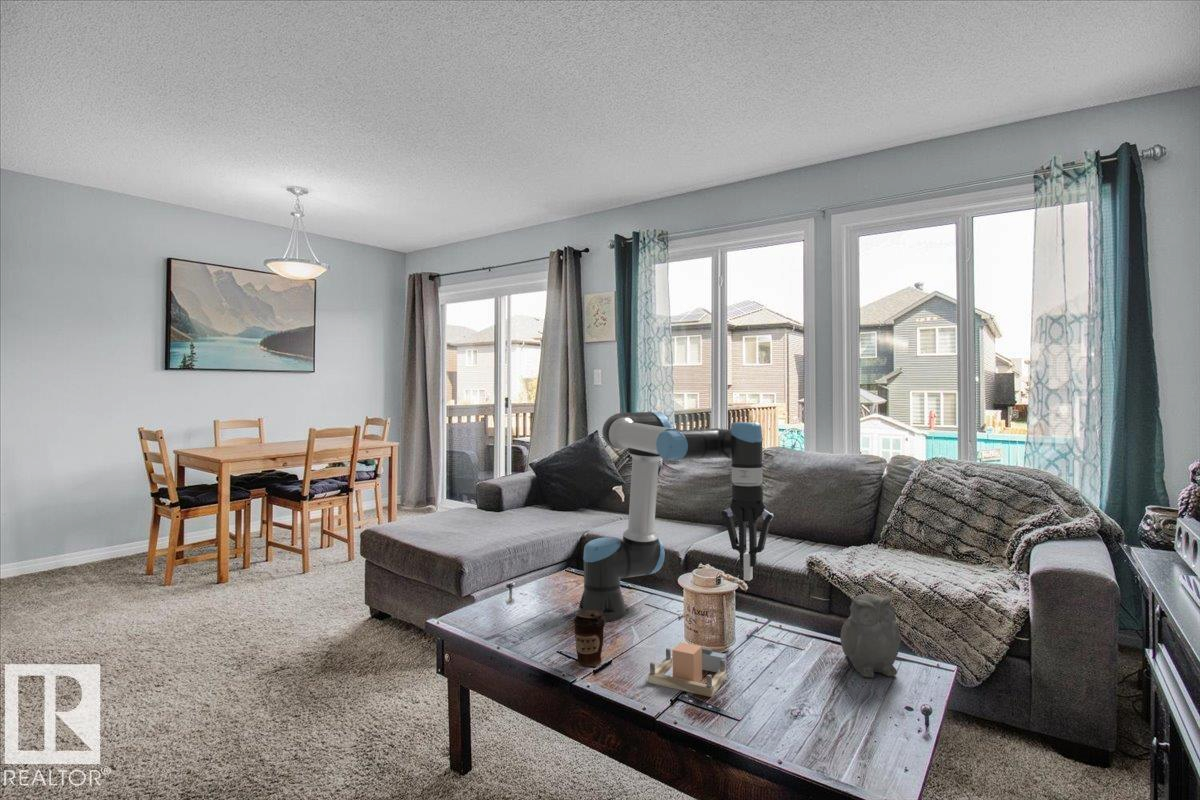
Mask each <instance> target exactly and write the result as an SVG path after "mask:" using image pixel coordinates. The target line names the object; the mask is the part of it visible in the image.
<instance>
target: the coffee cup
mask: <svg viewBox="0 0 1200 800" xmlns="http://www.w3.org/2000/svg"><path fill="white" fill-rule="evenodd" d="M605 620H606V618H605V617H604V616H603V612H601V611H597V610H585V611H582V612H579V611H577V612H576V616H575V617H574V619H573V625H574V638H575V650H576V655H577V663H578V665H579V666H583V667H597V666H600V665H602V663H603V661H602V651H603V646H604V633H605V632H604V631H605V625H606V621H605Z"/></svg>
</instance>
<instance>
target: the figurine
mask: <svg viewBox="0 0 1200 800" xmlns="http://www.w3.org/2000/svg"><path fill="white" fill-rule="evenodd" d="M850 600H851V604H850V606H849V610H850V614H849V616H848V617H847V619H846V620H845V621H844V622H843V625H842V626H841V629H840V630H841V631H840V635H839V636H840V645H841V648H842V651H843V653H844V655H845V656H846V657H848V658H849V660H850V663H851V664H852V666H853V667H854V670H855V671H856V672H858V673H859V674H860V675H861V677H864V678H874V676H875V673H880V674H883V675H884V676H887V677H895V676H896V675H897V673H898V670H897V668H896V667H894V663H895V662H896V660H897V657H898V654H899V648H900V646H901V642H902V640H901V635H900V634H901V633H900V627H899V625H898V623H897V622H896V621H895V618H896V609H895V608H894V606H893V605H892V604H891V601H892V600H893V595H892V593H891V592H888V593H887V594H886V595H885V596H884V597H883V596H881V595H878V594H872V593H861V594H859V595H857V596H855V597H853V596H850Z"/></svg>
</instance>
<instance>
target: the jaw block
mask: <svg viewBox="0 0 1200 800" xmlns="http://www.w3.org/2000/svg"><path fill="white" fill-rule="evenodd" d="M702 647H703V646H702V645H696V644H692V643H691V644H690V643H687V642H682V641H681V642H680V643H679V644H677V646H675V647H674V648H673V649H672V655H671V656H672V657H671V658H672V677H676V678H680V679H685V680H689V681H694V682H698V683H701V681H702V680H703V670H702Z"/></svg>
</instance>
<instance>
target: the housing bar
mask: <svg viewBox="0 0 1200 800" xmlns="http://www.w3.org/2000/svg"><path fill="white" fill-rule="evenodd" d="M720 659H724V660H725V670H727V669H728V668H727V654H726V653H721V652H716V651H713V648H709V647H704V646H702V671H707V672H708V671H709V672H713V673H716V674H717V672H718V671H719V670H720Z"/></svg>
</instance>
